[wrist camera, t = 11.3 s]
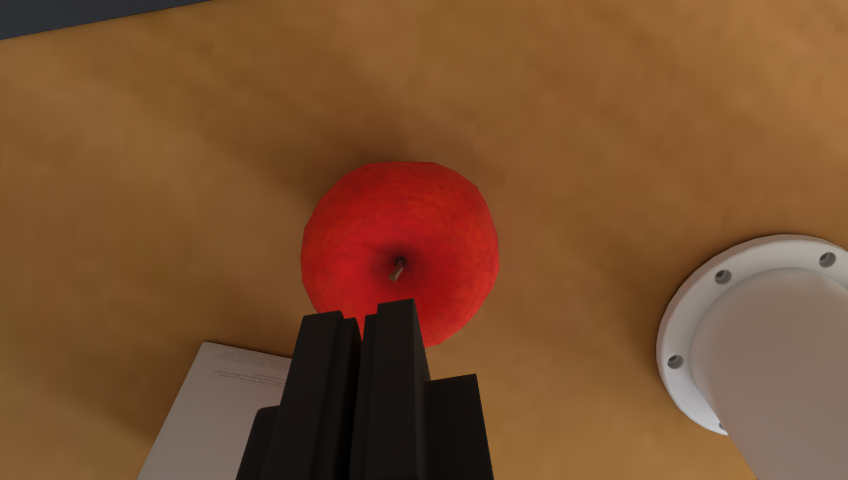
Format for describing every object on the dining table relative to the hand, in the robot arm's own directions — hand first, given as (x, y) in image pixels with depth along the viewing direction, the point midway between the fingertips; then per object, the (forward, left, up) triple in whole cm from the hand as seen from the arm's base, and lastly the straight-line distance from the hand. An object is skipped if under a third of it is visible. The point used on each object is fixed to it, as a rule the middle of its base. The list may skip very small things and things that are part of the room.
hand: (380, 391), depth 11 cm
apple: (+1, +7, -27) cm, 28 cm away
